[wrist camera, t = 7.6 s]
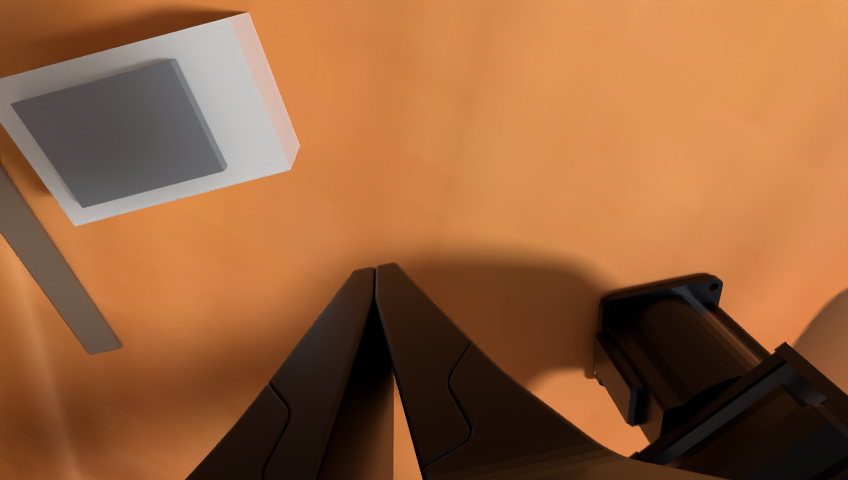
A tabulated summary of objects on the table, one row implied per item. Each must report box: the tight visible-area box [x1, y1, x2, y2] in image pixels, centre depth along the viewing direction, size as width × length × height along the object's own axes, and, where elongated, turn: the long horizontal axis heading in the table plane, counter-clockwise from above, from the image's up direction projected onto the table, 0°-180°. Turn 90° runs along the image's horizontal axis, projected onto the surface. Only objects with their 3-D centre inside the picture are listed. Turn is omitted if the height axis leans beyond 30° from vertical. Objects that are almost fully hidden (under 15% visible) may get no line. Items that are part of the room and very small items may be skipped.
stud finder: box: [0, 12, 300, 226], centre depth 16 cm, size 8×5×4 cm, turn 103°
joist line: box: [0, 163, 122, 355], centre depth 18 cm, size 2×16×1 cm, turn 9°
